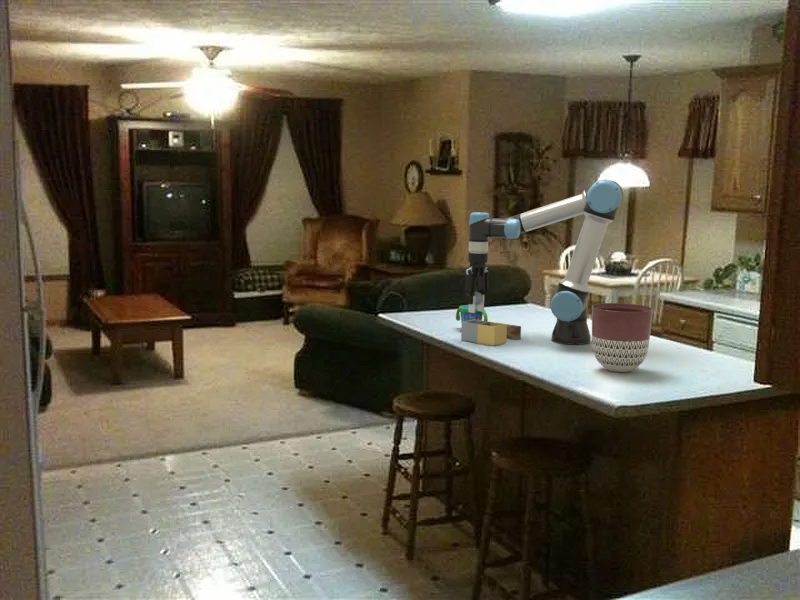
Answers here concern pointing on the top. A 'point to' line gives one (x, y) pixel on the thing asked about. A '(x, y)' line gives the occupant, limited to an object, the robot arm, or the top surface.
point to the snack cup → (470, 314)
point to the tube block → (484, 332)
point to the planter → (620, 335)
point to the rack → (513, 332)
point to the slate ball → (478, 298)
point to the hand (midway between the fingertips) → (476, 311)
